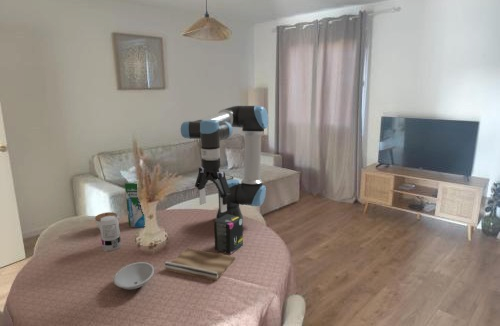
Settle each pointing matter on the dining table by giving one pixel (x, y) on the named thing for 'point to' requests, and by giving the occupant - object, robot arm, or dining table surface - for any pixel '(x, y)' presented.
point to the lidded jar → (102, 217)
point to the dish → (133, 275)
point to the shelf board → (200, 264)
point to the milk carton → (134, 206)
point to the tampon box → (228, 233)
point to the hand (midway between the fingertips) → (213, 207)
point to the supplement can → (110, 233)
